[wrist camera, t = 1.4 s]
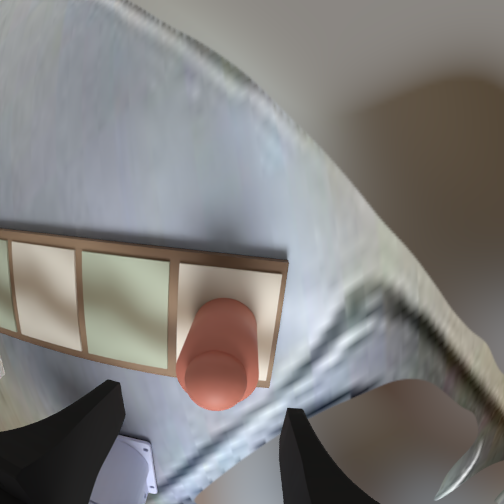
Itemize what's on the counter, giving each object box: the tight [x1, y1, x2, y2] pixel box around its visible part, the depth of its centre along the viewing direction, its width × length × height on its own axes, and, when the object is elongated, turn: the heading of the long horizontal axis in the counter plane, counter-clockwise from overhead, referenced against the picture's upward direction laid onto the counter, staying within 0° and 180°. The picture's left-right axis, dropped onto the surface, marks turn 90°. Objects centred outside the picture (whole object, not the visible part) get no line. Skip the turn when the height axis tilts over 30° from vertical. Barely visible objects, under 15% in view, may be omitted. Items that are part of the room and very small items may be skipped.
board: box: [0, 228, 289, 388], centre depth 22 cm, size 10×30×1 cm, turn 84°
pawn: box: [176, 298, 259, 411], centre depth 18 cm, size 4×4×8 cm
